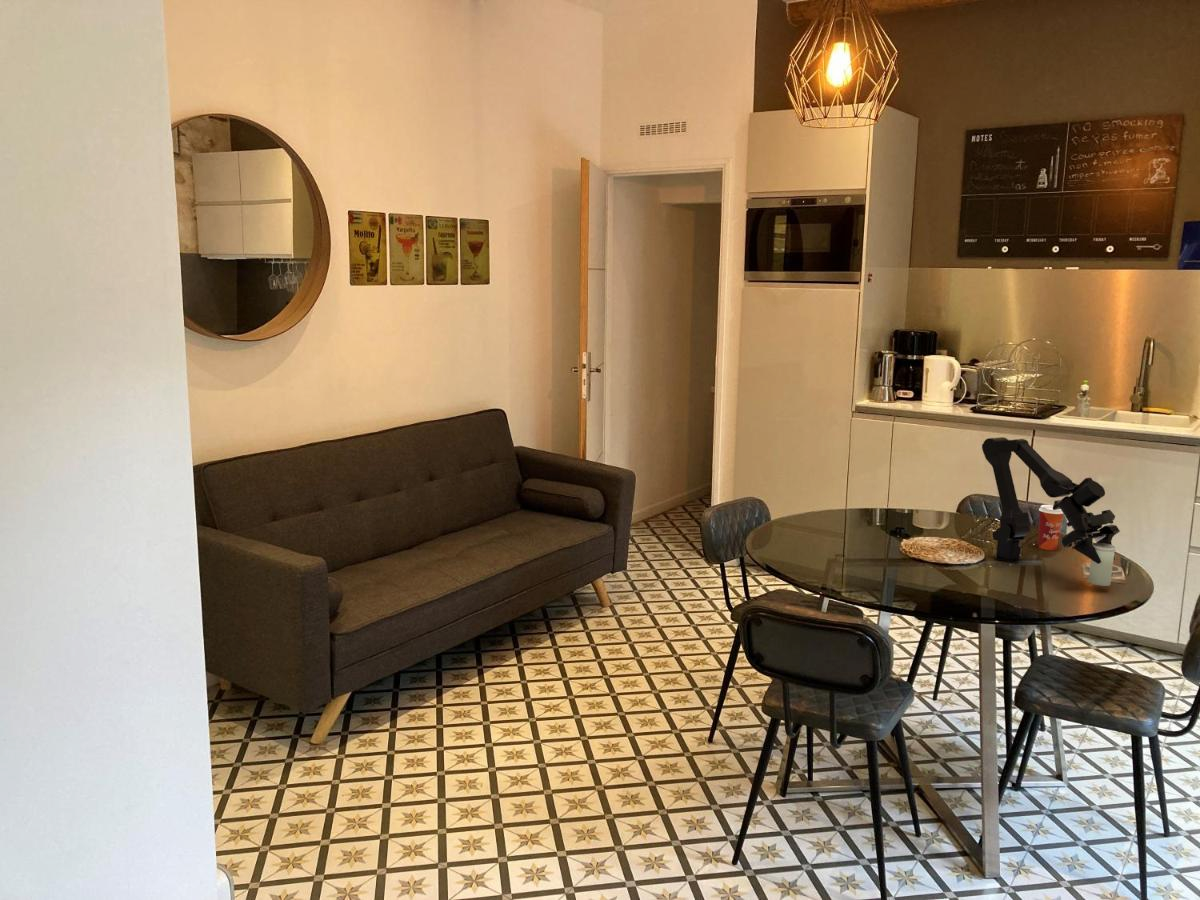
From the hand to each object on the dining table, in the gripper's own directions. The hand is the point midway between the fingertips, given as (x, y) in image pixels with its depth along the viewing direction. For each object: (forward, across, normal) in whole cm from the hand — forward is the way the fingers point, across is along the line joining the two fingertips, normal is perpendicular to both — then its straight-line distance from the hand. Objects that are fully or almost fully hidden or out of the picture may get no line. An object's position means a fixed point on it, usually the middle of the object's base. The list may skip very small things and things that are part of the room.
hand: (1106, 561), depth 269 cm
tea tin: (+4, 0, +6) cm, 7 cm away
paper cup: (-19, +23, +32) cm, 44 cm away
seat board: (0, +13, +13) cm, 18 cm away
